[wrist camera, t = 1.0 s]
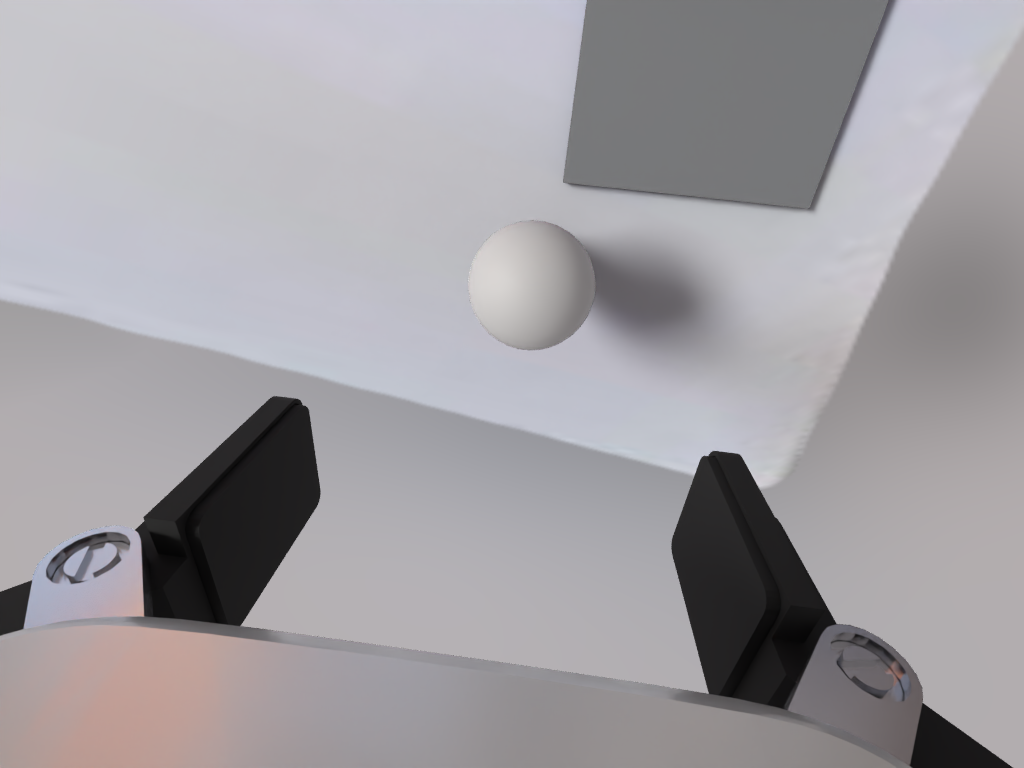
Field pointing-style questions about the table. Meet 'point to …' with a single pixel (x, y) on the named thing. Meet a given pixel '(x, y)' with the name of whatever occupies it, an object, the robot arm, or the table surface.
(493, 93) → the table surface
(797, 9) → the mat
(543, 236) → the lightbulb
